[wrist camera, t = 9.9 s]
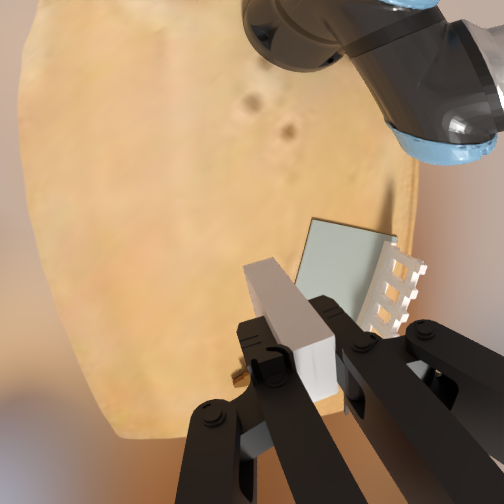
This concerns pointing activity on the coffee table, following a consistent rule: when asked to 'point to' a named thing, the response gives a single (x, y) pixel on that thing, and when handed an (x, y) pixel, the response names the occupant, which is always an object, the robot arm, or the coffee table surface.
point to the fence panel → (402, 286)
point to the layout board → (342, 265)
